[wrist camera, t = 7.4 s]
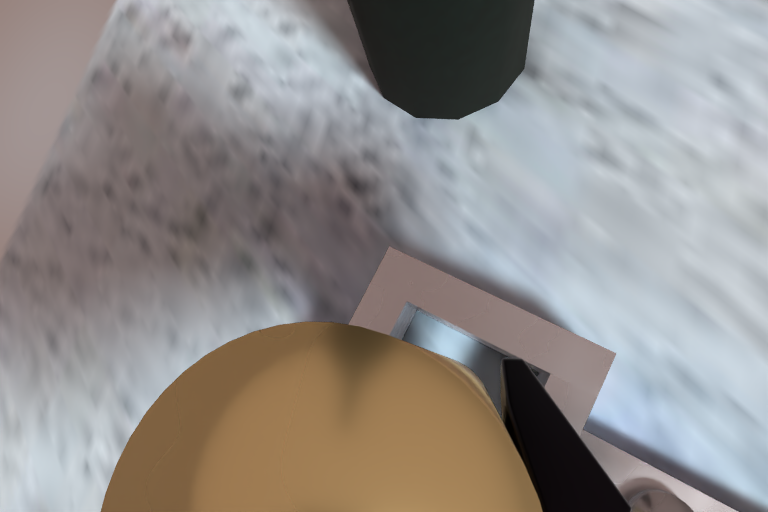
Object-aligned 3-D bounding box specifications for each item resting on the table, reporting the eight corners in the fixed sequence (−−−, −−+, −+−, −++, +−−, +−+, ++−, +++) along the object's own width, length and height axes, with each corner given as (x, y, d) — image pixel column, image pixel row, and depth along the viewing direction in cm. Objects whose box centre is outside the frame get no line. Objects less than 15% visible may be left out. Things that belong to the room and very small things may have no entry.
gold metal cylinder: (462, 492, 15) (404, 1044, 3) (365, 433, 16) (10, 644, 4) (510, 389, 15) (645, 471, 3) (413, 337, 16) (237, 251, 4)
